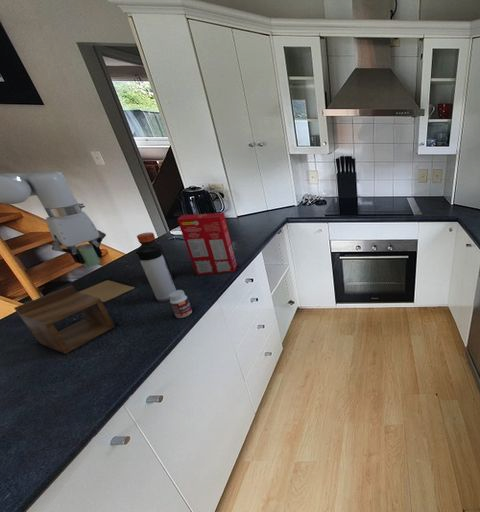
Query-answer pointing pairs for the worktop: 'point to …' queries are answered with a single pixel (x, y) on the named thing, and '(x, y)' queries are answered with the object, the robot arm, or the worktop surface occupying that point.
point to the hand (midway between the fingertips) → (90, 259)
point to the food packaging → (208, 243)
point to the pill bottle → (180, 303)
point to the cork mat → (107, 290)
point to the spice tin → (88, 254)
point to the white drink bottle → (151, 245)
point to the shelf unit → (59, 307)
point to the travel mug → (156, 272)
